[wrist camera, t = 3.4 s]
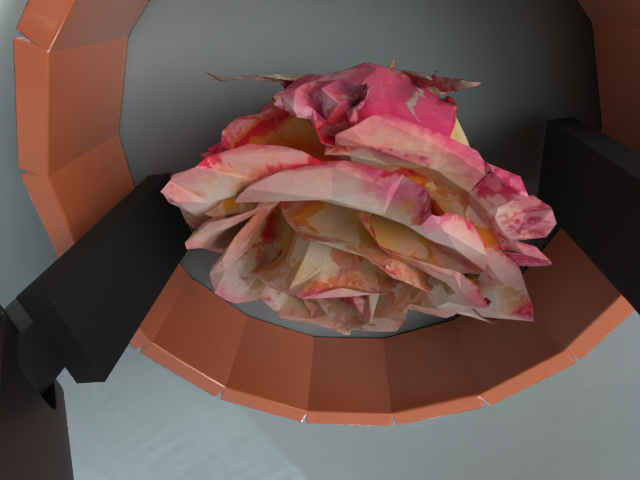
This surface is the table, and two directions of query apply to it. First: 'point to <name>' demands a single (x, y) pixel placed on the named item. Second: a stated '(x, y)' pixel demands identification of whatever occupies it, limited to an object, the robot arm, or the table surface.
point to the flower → (361, 206)
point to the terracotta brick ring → (272, 340)
